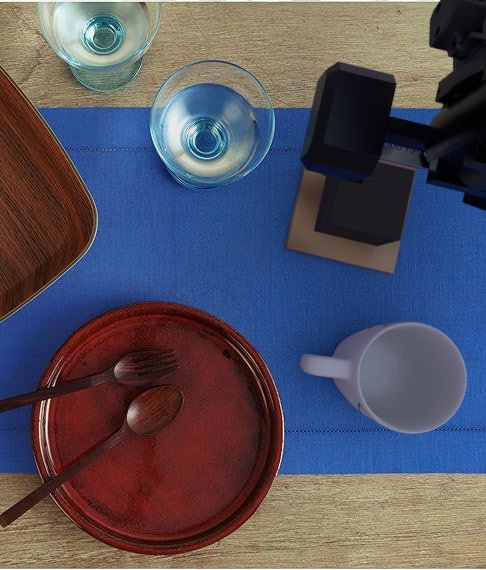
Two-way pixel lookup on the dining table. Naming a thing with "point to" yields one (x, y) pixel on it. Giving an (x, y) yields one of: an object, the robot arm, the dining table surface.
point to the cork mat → (327, 245)
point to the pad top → (370, 204)
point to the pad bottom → (335, 233)
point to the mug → (397, 375)
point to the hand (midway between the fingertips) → (404, 181)
